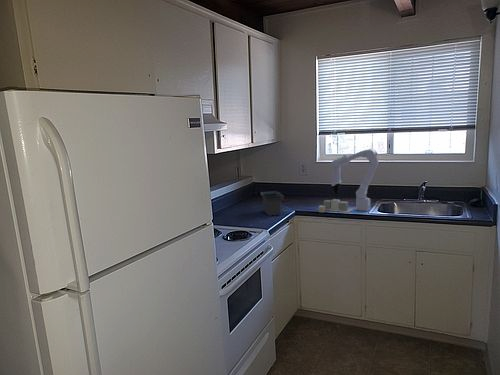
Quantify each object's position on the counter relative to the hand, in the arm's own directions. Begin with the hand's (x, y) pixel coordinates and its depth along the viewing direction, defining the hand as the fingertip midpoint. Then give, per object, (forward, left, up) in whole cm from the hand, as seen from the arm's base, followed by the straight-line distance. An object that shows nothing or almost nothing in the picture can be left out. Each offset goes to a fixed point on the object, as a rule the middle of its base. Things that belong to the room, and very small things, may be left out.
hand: (336, 194), depth 277 cm
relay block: (+5, +15, -10) cm, 19 cm away
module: (-2, +7, -9) cm, 11 cm away
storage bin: (+35, +33, -11) cm, 49 cm away
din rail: (-2, +7, -10) cm, 12 cm away
